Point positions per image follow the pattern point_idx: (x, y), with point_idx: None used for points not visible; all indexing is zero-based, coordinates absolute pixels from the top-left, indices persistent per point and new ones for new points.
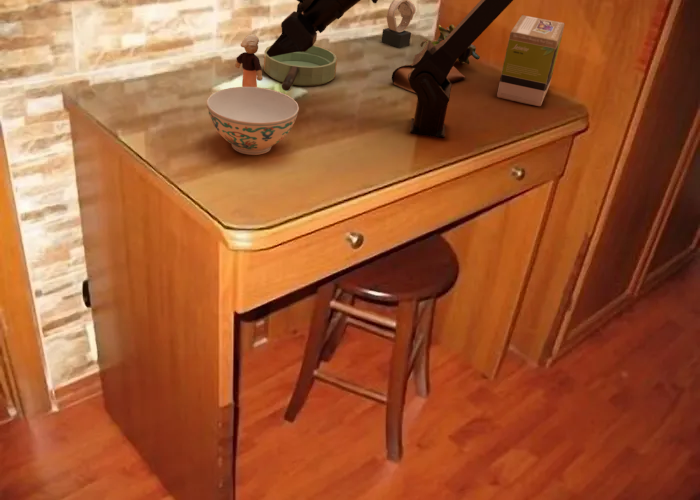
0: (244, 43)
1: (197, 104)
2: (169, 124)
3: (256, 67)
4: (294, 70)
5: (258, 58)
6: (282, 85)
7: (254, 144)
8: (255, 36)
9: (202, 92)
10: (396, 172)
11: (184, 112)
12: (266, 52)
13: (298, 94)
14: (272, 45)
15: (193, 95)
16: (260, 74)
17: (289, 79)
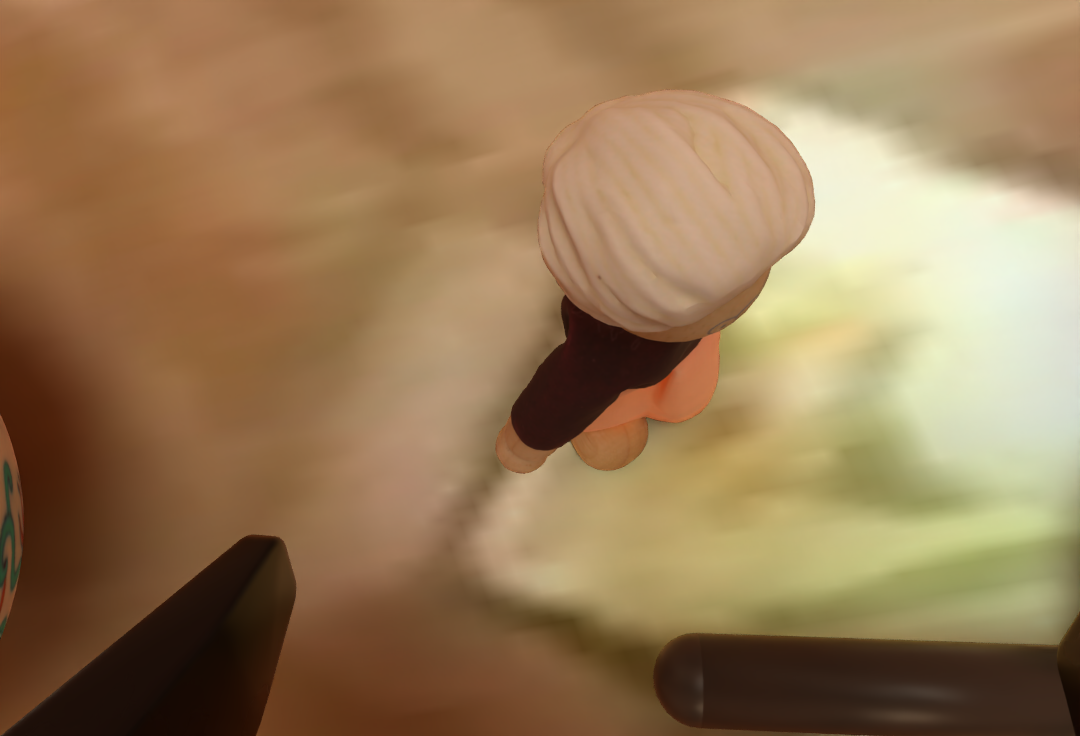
0: (569, 144)
1: (434, 78)
2: (101, 24)
3: (525, 393)
4: None
5: (616, 383)
6: (671, 646)
7: None
8: (668, 248)
9: (644, 49)
10: None
11: (288, 46)
12: (246, 537)
13: None
14: (86, 669)
15: (571, 13)
16: (511, 450)
17: (784, 707)
